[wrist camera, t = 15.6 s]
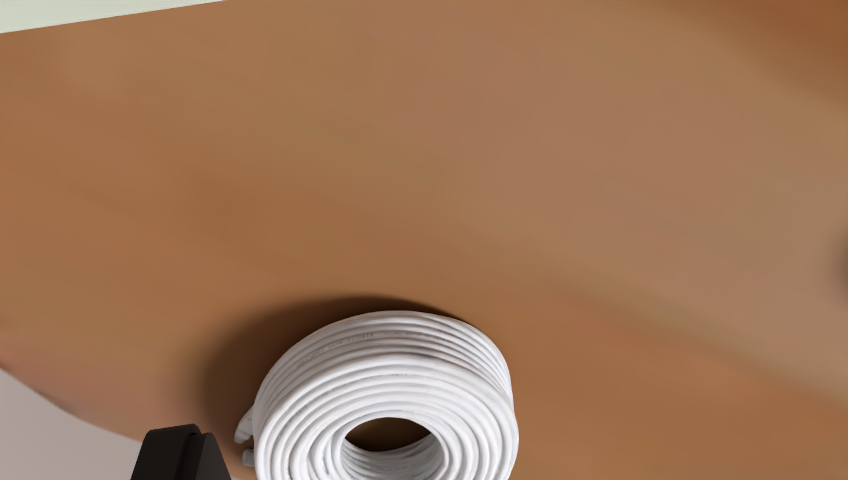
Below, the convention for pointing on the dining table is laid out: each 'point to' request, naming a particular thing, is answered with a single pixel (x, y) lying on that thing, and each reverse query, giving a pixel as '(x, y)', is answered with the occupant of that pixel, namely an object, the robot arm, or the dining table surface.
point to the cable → (385, 402)
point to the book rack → (75, 11)
